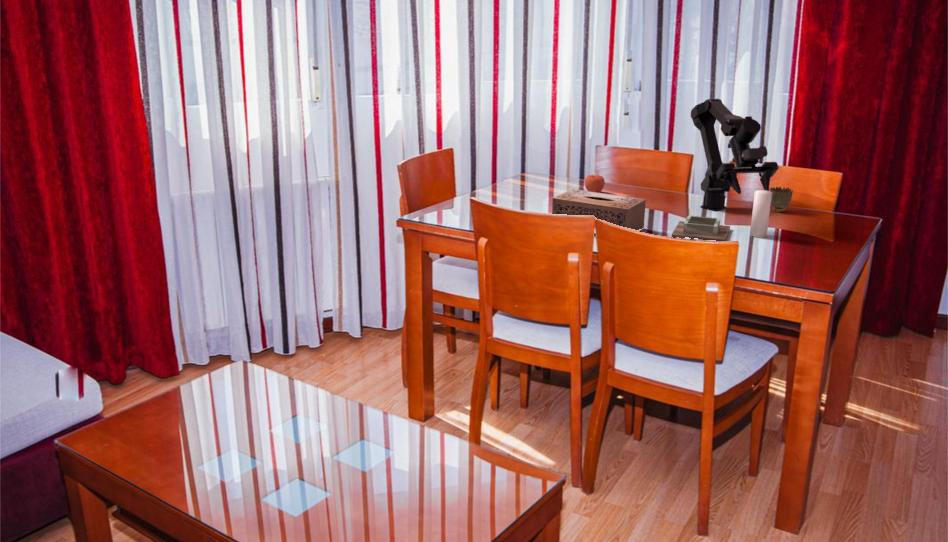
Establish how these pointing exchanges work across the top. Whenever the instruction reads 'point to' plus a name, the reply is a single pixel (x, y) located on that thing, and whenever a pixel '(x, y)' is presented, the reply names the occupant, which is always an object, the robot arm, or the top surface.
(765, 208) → the cream post
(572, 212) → the tissue box cover
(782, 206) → the cup
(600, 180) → the apple
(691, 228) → the collar seat
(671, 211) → the top surface
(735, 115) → the robot arm
